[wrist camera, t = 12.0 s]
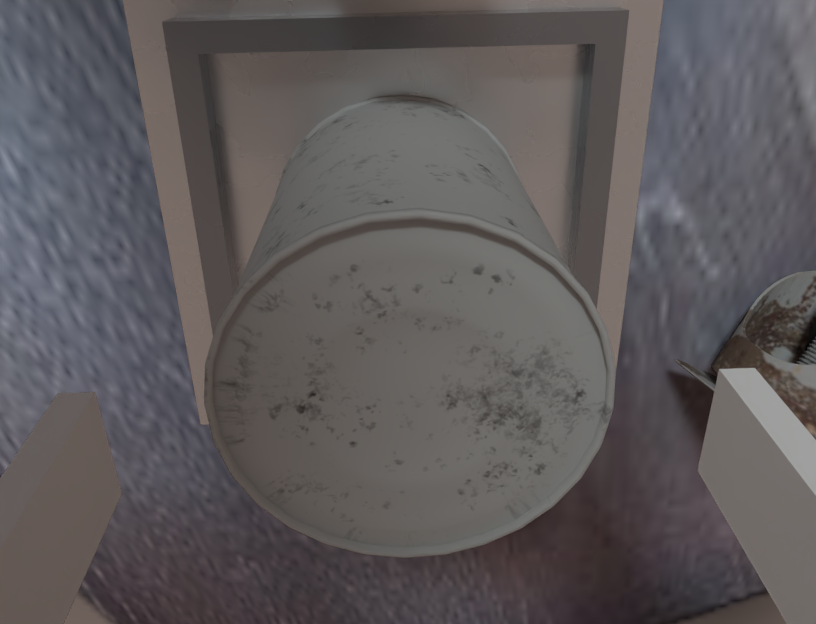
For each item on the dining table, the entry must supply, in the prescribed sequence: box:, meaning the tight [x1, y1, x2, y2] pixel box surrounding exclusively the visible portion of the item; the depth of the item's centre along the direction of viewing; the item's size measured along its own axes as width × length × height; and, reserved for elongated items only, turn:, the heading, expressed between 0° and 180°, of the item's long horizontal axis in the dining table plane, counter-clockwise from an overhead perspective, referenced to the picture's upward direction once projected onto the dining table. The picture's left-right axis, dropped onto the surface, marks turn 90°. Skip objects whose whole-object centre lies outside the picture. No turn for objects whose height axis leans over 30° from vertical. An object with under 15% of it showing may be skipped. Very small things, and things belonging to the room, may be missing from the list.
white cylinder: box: [204, 95, 616, 558], centre depth 22 cm, size 10×10×12 cm
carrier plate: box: [123, 0, 664, 425], centre depth 25 cm, size 24×18×6 cm
